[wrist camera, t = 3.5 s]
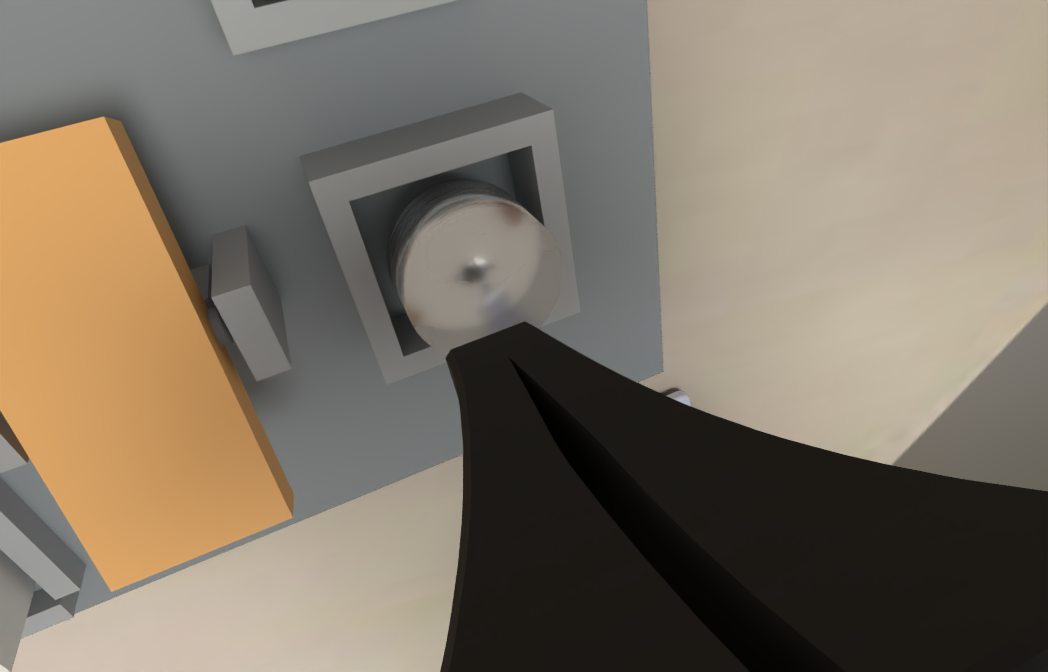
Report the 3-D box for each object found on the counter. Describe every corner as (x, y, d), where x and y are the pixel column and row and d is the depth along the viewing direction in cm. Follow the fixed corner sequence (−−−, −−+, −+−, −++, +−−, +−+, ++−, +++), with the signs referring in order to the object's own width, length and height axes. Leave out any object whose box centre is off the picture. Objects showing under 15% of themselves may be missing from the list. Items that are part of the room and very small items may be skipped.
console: (633, 341, 23) (717, 426, 19) (-40, 607, 18) (-111, 792, 14) (576, -388, 12) (740, -534, 8) (-1058, -204, 8) (-2402, -346, 4)
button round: (540, 290, 16) (571, 326, 14) (410, 338, 15) (430, 380, 14) (517, 160, 14) (551, 186, 12) (366, 206, 13) (383, 240, 12)
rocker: (301, 483, 14) (300, 514, 13) (123, 555, 13) (103, 595, 12) (135, 120, 12) (113, 113, 10) (-97, 181, 11) (-153, 182, 10)
